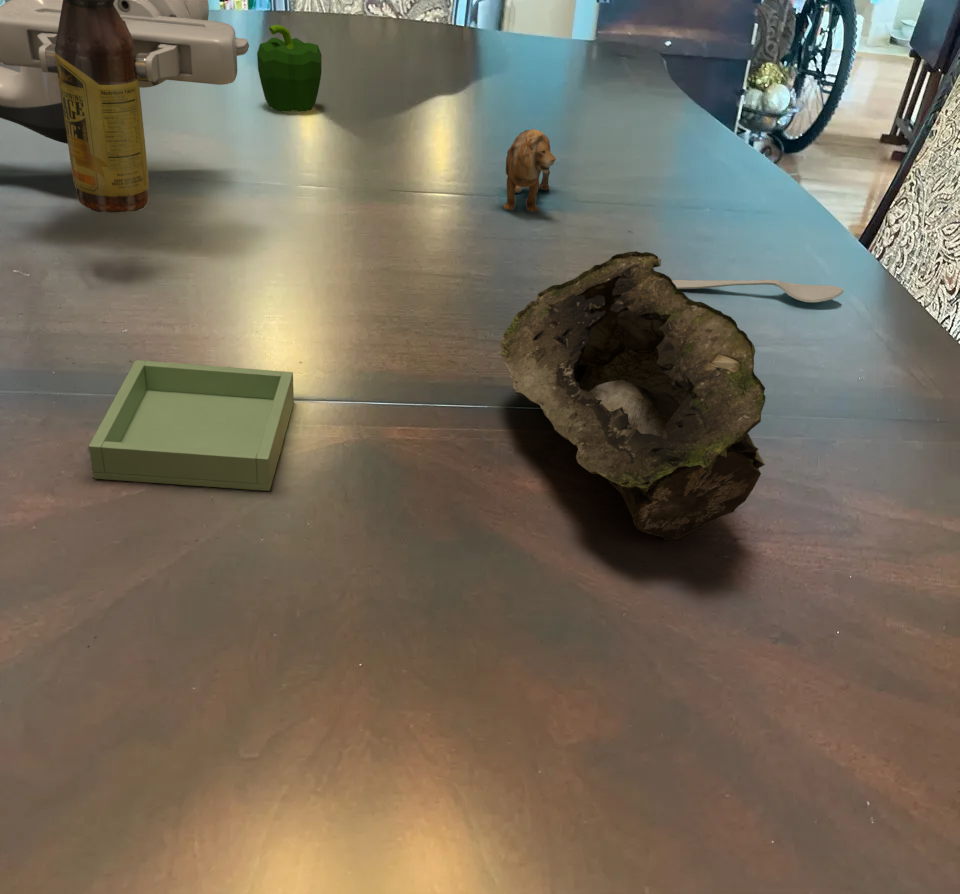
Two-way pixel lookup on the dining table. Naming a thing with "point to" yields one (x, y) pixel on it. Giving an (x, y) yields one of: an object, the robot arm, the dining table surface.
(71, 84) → the sauce bottle
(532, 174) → the lion figurine
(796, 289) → the spoon
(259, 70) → the bell pepper
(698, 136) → the dining table surface
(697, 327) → the brown hollow wooden log
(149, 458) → the green tray
